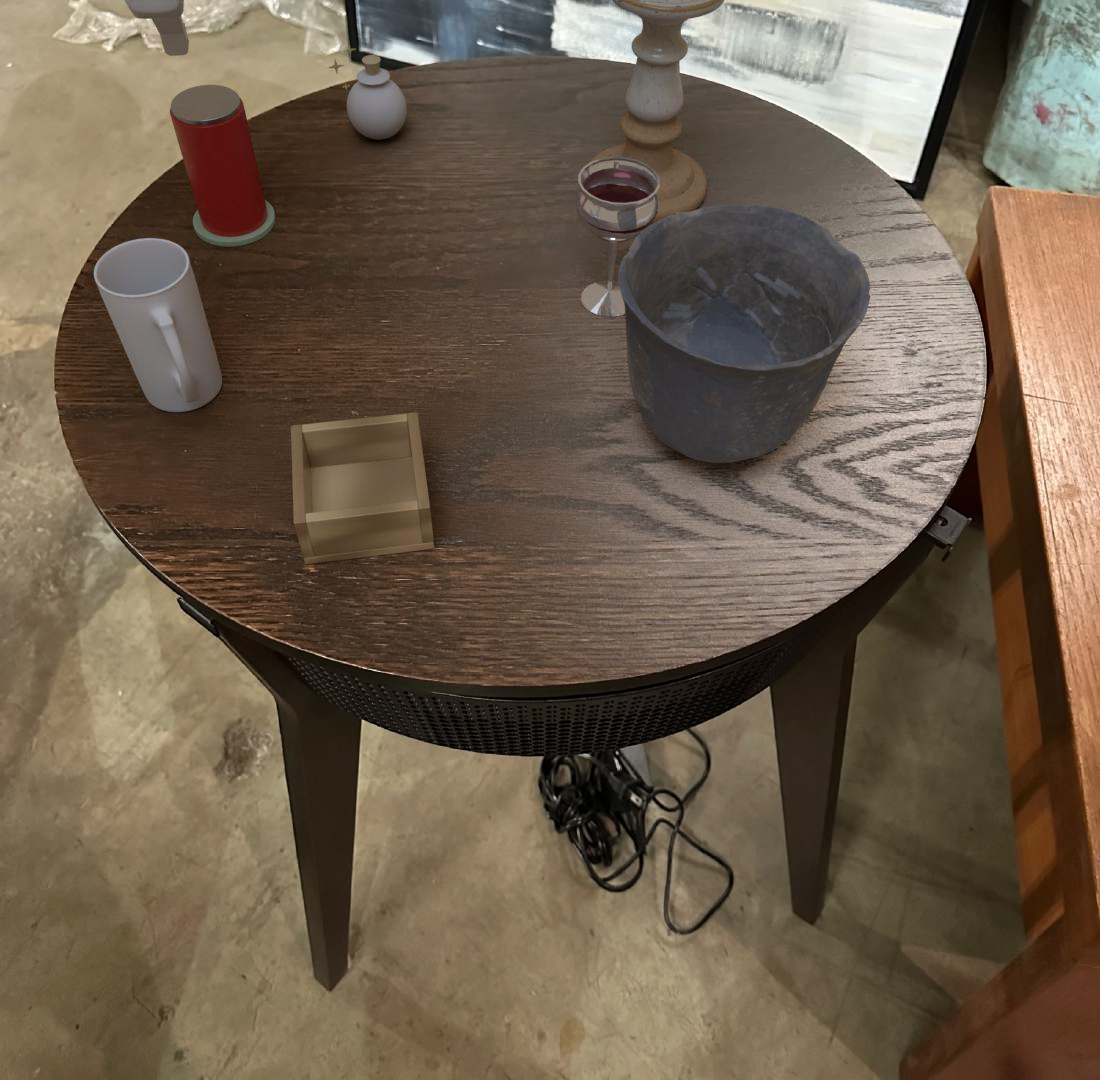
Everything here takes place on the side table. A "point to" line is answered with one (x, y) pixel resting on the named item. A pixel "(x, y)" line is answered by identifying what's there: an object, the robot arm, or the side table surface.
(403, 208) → the side table surface
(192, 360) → the mug
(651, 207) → the wineglass
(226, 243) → the coaster
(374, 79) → the ornament
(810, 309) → the dark grey metal pot
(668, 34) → the candle holder
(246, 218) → the can
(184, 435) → the side table surface
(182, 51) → the robot arm
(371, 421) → the holder
